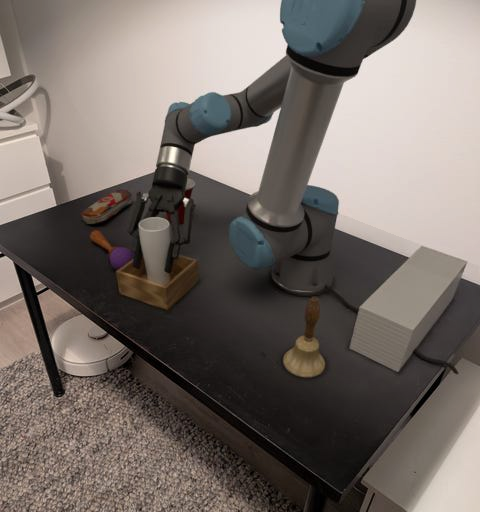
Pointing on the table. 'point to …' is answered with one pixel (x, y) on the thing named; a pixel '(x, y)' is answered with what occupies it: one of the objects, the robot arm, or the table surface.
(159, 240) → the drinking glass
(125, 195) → the pencil case
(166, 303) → the bin
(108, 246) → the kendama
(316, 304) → the hand bell
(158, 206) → the robot arm
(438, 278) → the stack of papers
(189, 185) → the plastic cup
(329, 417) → the table surface
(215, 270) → the table surface
